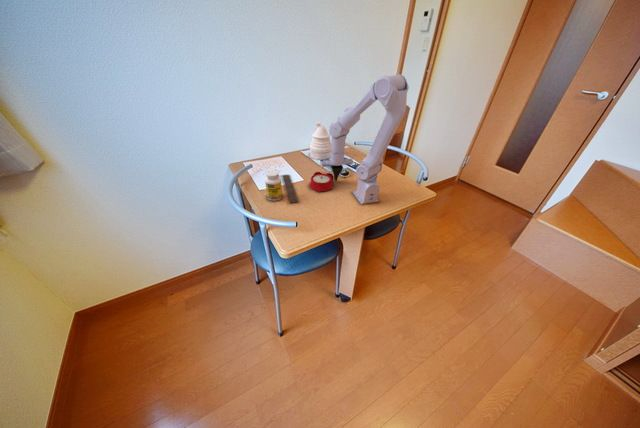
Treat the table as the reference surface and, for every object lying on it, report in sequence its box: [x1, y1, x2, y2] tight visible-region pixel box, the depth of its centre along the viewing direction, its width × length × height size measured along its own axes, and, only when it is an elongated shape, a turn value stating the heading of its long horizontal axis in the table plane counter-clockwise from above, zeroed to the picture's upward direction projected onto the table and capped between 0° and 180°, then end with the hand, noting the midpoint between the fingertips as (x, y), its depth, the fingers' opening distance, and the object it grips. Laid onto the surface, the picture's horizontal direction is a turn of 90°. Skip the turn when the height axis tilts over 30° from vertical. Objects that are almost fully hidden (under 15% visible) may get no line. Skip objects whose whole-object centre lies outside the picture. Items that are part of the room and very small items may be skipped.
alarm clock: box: [309, 171, 335, 193], centre depth 99 cm, size 10×6×15 cm
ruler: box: [282, 174, 299, 204], centre depth 97 cm, size 24×3×1 cm, turn 16°
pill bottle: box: [264, 170, 283, 202], centre depth 88 cm, size 6×6×11 cm
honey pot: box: [309, 121, 332, 160], centre depth 124 cm, size 13×13×18 cm
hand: (335, 179), depth 101 cm, fingers closed, pressing on alarm clock
